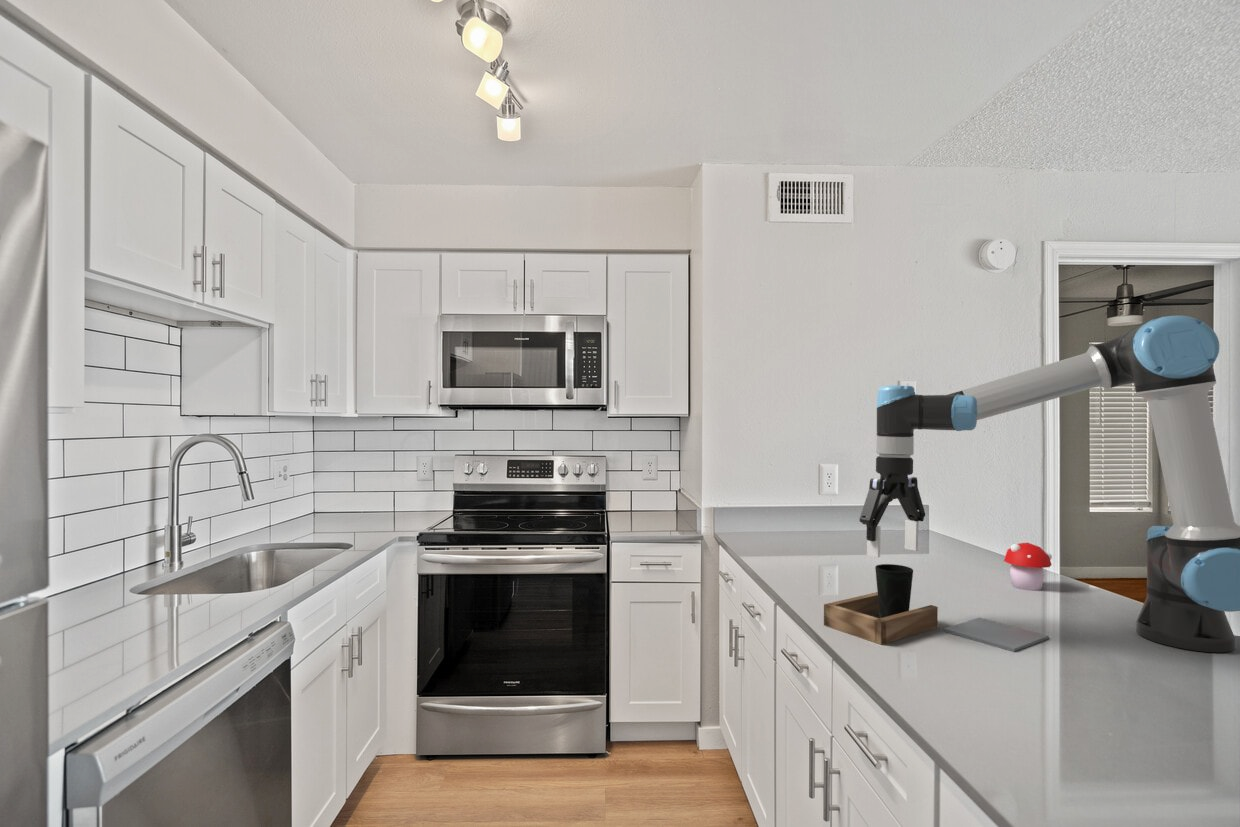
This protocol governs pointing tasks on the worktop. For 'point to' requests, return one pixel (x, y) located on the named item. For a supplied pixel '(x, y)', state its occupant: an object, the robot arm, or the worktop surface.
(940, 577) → the worktop surface
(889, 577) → the cup
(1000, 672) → the worktop surface
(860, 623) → the wooden frame
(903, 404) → the robot arm
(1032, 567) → the mushroom
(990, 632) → the coaster
